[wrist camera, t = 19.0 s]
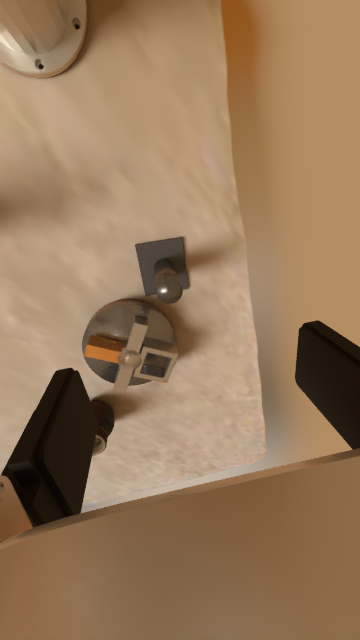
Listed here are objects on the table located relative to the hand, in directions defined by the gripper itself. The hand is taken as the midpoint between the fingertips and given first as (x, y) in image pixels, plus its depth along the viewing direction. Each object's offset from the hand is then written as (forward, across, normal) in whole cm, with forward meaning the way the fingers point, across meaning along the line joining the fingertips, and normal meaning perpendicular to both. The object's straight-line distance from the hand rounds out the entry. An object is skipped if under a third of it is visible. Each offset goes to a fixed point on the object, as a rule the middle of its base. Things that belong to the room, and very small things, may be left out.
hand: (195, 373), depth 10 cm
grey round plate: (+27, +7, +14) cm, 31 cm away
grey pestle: (+30, -1, +3) cm, 30 cm away
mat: (+30, 0, +3) cm, 30 cm away
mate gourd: (+30, +17, +28) cm, 45 cm away
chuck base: (+30, +7, +14) cm, 34 cm away
